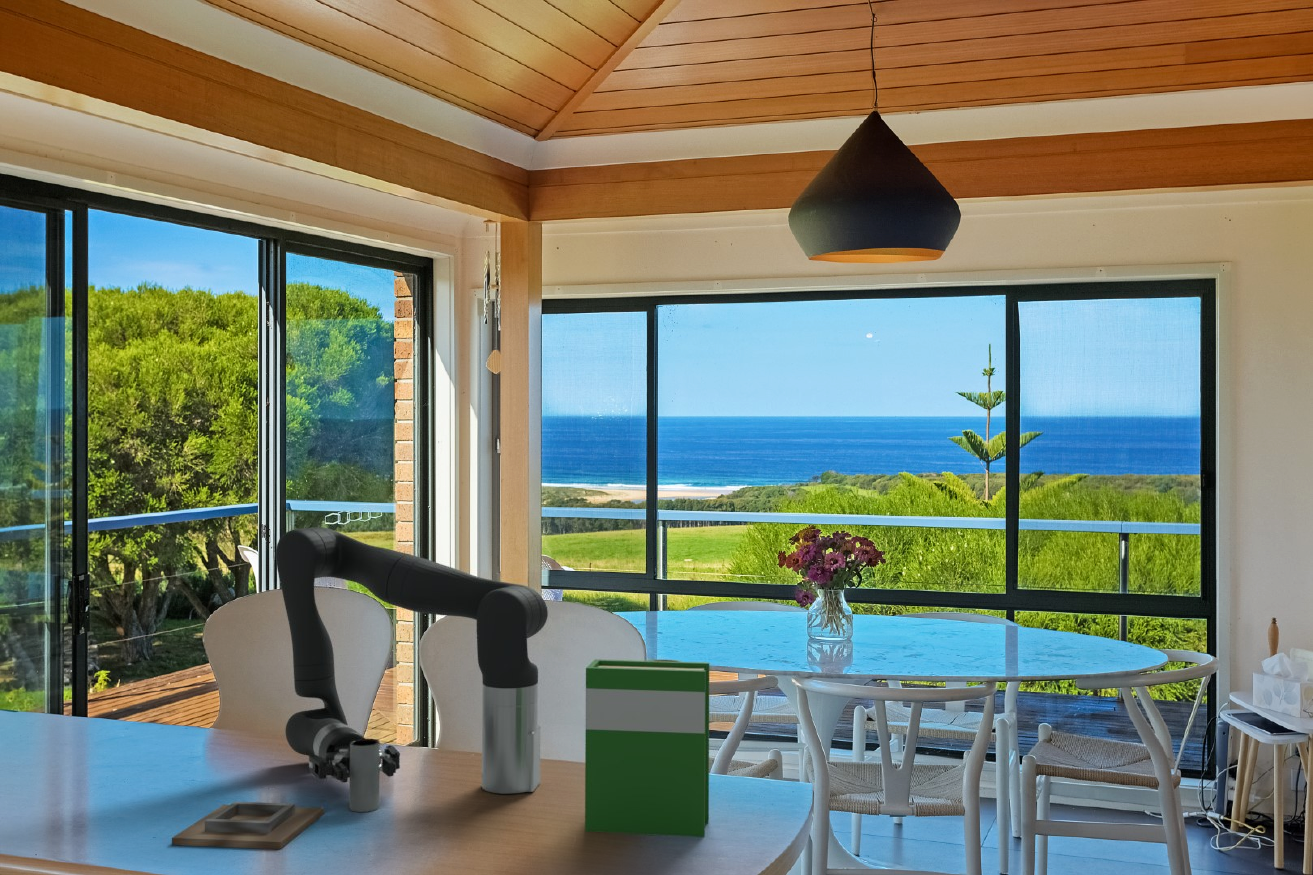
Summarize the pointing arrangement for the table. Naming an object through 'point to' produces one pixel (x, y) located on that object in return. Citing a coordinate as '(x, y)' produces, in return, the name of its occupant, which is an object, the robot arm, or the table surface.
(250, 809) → the base
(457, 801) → the table surface
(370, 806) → the grey cylinder
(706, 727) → the hardback book
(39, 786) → the table surface
